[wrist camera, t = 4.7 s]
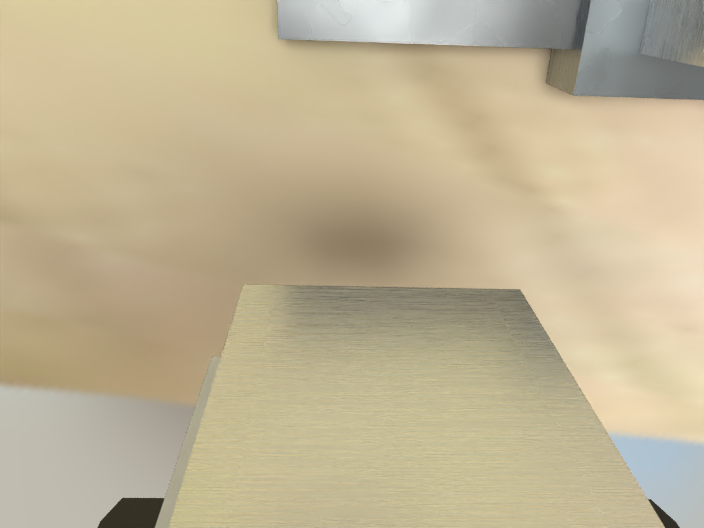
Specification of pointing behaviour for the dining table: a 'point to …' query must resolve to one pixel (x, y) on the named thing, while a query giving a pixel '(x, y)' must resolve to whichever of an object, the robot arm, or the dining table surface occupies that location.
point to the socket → (400, 419)
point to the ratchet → (535, 36)
